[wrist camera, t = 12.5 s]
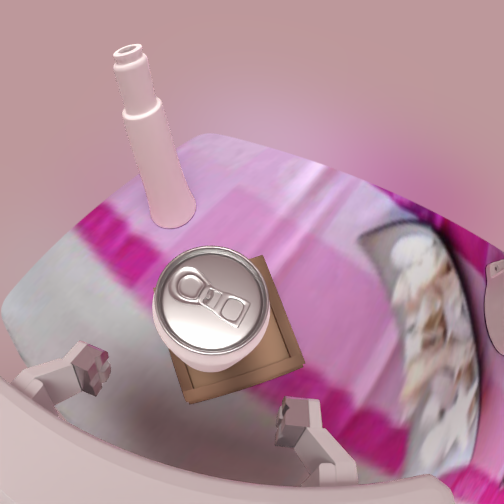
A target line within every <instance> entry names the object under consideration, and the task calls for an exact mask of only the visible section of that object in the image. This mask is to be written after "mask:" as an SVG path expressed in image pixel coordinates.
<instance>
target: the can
mask: <svg viewBox="0 0 504 504" xmlns="http://www.w3.org/2000/svg"><path fill="white" fill-rule="evenodd" d="M152 310H153V318H154V323H155V326H156V329H157V331H158V333H159V335H160V337H161V338H162V340H163V341H164V343H165V344H166V345H167V346H168V348H169V349H170V350H171V351H172V352H173V353H174V354H175V355H176V356H178V357H179V358H180V359H181V360H182V361H183V362H184V363H186V364H187V365H188V366H190V367H192V368H194V369H196V370H199V371H202V372H219V371H222V370H225V369H227V368H229V367H231V366H233V365H234V364H236V363H237V362H238V361H240V360H241V359H243V358H244V357H245V356H247V355H248V354H249V353H250V352H251V351H252V350H253V349H254V348H255V347H256V346H257V345H258V344H259V342H260V341H261V339H262V338H263V336H264V334H265V331H266V329H267V326H268V323H269V318H270V302H269V294H268V289H267V285H266V282H265V280H264V278H263V276H262V274H261V273H260V271H259V270H258V268H257V267H256V266H255V265H254V264H253V263H252V262H251V261H250V260H249V259H248V258H246V257H245V256H243V255H242V254H240V253H238V252H236V251H234V250H232V249H229V248H225V247H220V246H201V247H196V248H193V249H190V250H187V251H185V252H183V253H181V254H180V255H178V256H177V257H175V258H174V259H173V260H172V261H171V262H170V263H169V264H168V265H167V266H166V267H165V269H164V270H163V272H162V273H161V275H160V277H159V279H158V282H157V285H156V289H155V293H154V297H153V305H152Z"/></svg>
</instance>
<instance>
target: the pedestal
mask: <svg viewBox="0 0 504 504" xmlns="http://www.w3.org/2000/svg"><path fill="white" fill-rule="evenodd" d="M249 260H250V261H251V262H252V263H253V264H254V265H255V266H256V267H257V268H258V270H259V271H260V273H261V274H262V276H263V278H264V280H265V282H266V285H267V289H268V294H269V302H270V318H269V323H268V326H267V329H266V331H265V334H264V336H263V338H262V339H261V341H260V342H259V344H258V345H257V346H256V347H255V348H254V349H253V350H252V351H251V352H250V353H249V354H248V355H247V356H245V357H244V358H243V359H241V360H240V361H238V362H237V363H236V364H234V365H233V366H231V367H229V368H227V369H225V370H222V371H219V372H202V371H199V370H196V369H194V368H192V367H190V366H188V365H187V364H186V363H184V362H183V361H182V360H181V359H180V358H179V357H178V356H176V355H175V354H174V353H173V352H172V351H171V350H170V349H169V351H170V355H171V358H172V361H173V364H174V368H175V371H176V374H177V377H178V380H179V383H180V386H181V389H182V392H183V395H184V398H185V401H186V402H189V404H193V403H197V402H201V401H205V400H208V399H212V398H216V397H219V396H222V395H226V394H229V393H232V392H236V391H239V390H242V389H245V388H248V387H251V386H254V385H257V384H260V383H263V382H266V381H268V380H271V379H274V378H277V377H279V376H282V375H285V374H287V373H290V372H292V371H295V370H297V369H300V368H302V367H303V364H305V361H304V358H303V356H302V353H301V351H300V348H299V345H298V343H297V340H296V338H295V335H294V333H293V330H292V328H291V325H290V322H289V320H288V317H287V315H286V312H285V310H284V307H283V305H282V302H281V300H280V297H279V295H278V292H277V290H276V287H275V284H274V282H273V279H272V277H271V274H270V272H269V269H268V267H267V264H266V262H265V259H264V257H263V255H261V256H258V257H254V258H251V259H249ZM153 289H154V293H155V289H156V288H153Z"/></svg>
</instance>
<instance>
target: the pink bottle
mask: <svg viewBox="0 0 504 504" xmlns="http://www.w3.org/2000/svg"><path fill="white" fill-rule="evenodd" d="M141 52H142V45H140V44H133V45H128V46H125V47H123V48H121V49H119V50H117V51H116V52H115V53H114V54H113V56H114V59H115V60H116V62H115V64H114V67H113V70H114V74H115V77H116V80H117V84H118V87H119V90H120V94H121V97H122V100H123V104H124V107H125V108H124V110H123V113H122V116H123V120H124V124H125V128H126V131H127V135H128V138H129V142H130V145H131V148H132V151H133V155H134V158H135V161H136V164H137V167H138V170H139V173H140V176H141V179H142V182H143V185H144V188H145V192H146V195H147V199H148V203H149V208H150V214H151V218H152V220H153V221H154V222H155V223H156V224H157V225H158V226H160V227H163V228H169V229H171V228H177V227H180V226H182V225H184V224H186V223H187V222H188V221H189V220H190V219H191V218H192V216H193V215H194V213H195V210H196V202H195V199H194V197H193V195H192V193H191V191H190V189H189V187H188V185H187V183H186V180H185V177H184V175H183V172H182V169H181V166H180V163H179V159H178V156H177V153H176V149H175V146H174V142H173V139H172V135H171V132H170V129H169V125H168V121H167V118H166V114H165V111H164V108H163V104H162V101H161V100H160V99H159V98H158V97H156V96H155V91H154V86H153V82H152V77H151V72H150V67H149V62H148V57H147V56H146V54H144V53H141Z"/></svg>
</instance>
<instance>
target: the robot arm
mask: <svg viewBox="0 0 504 504" xmlns="http://www.w3.org/2000/svg"><path fill="white" fill-rule="evenodd" d="M486 275H487V288H486V293H485V317H486V323H487V328H488V332H489V335H490V338H491V340H492V342H493V344H494V346H495V348H496V349H497V350H498V352H500V353H501V354H502V355H504V259H503V260H500V261H496V262H493V263H491V264H488V265H487V266H486ZM108 358H109V356H108V352H106V351H104V350H102V349H100V348H97V347H95V346H93V345H90V344H88V343H86V342H83V341H79V342H78V343H77V344H76V345H75V346H74V347H73V348H72V349H71V350H70V351H69V352H68V353H67V354H66V356H65V357H64V358H63V359H60V358H59V359H56V360H53V361H50V362H46V363H43V364H40V365H37V366H33V367H30V368H27V369H24V370H23V371H22V372H21V373H20V374H19V375H18V376H17V377H16V378H15V379H14V380H13V381H12V382H11V383H9V382H7V381H6V380H5V379H4V378H2V377H1V376H0V504H455V501H454V497H453V494H452V492H451V490H450V488H449V487H447V486H446V485H445V484H444V483H442V482H441V481H440V480H439V479H437V478H436V477H434V476H433V475H431V474H423V475H419V476H414V477H409V478H404V479H399V480H393V481H387V482H380V483H372V484H363V485H359V483H358V476H357V468H356V462H355V461H354V460H353V459H352V457H351V456H350V455H349V454H348V453H347V452H346V451H345V450H344V449H343V448H342V446H341V445H340V444H339V443H338V442H337V441H336V440H335V439H334V438H333V436H332V435H331V434H330V433H329V432H328V431H327V430H326V428H322V419H321V409H320V401H319V400H318V399H307V398H298V397H289V396H285V397H284V398H283V400H282V406H281V407H280V408H279V411H278V414H277V419H276V427H277V428H278V429H277V432H276V434H275V446H281V447H290V448H294V450H295V452H296V453H297V455H298V457H299V458H300V460H301V461H302V463H303V465H304V466H305V468H306V469H307V471H308V472H309V474H310V476H309V477H308V478H307V479H306V480H305V481H304V482H303V483H302V484H301V487H294V486H277V485H266V484H257V483H249V482H242V481H235V480H229V479H224V478H218V477H213V476H209V475H204V474H200V473H196V472H192V471H188V470H184V469H180V468H177V467H173V466H170V465H167V464H163V463H160V462H157V461H154V460H151V459H148V458H145V457H143V456H140V455H137V454H135V453H132V452H129V451H127V450H124V449H122V448H120V447H117V446H115V445H113V444H110V443H108V442H106V441H104V440H102V439H99V438H97V437H95V436H93V435H91V434H89V433H87V432H85V431H83V430H81V429H79V428H78V427H76V426H74V425H72V424H70V423H68V422H67V421H65V420H63V419H61V418H60V417H58V412H57V410H56V409H55V407H54V405H56V404H58V403H60V402H62V401H64V400H66V399H68V398H70V397H72V396H74V395H76V394H78V393H80V392H82V391H84V392H86V393H89V394H91V395H93V396H95V397H96V396H97V395H98V393H99V392H100V390H101V389H102V383H104V382H106V381H107V380H108V378H109V376H110V373H111V365H110V363H109V362H108V360H107V359H108Z"/></svg>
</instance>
